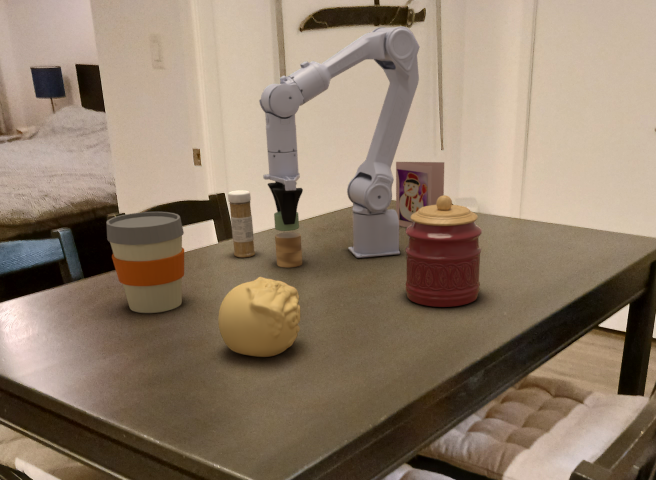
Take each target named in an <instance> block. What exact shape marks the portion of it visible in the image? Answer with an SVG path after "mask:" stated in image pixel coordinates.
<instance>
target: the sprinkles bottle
mask: <svg viewBox="0 0 656 480" xmlns="http://www.w3.org/2000/svg"><path fill="white" fill-rule="evenodd" d="M227 200H228V202H229V209H230V224H231V225H230V226H231V235H232V241H233V242H232V243H233V255H234V256H235V257H236V258H250V257H253V256H255V254H256V251H255V243H254V239H255V237H254V225H253V216H252V208H251V201H252V198H251V192H250V191H249V190H245V189H239V190H238V189H237V190H232V191H229V192H228V193H227Z"/></svg>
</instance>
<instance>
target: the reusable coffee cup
mask: <svg viewBox="0 0 656 480" xmlns="http://www.w3.org/2000/svg"><path fill="white" fill-rule="evenodd" d="M184 234H185V231H184V227H183V223H182V219H181V216H180V215H179V214H178V213H175V212H168V211H143V212H134V213H127V214H126V213H125V214H122V215H118V216H114V217H112V218H109V219H108V220H106V237H107V238H106V239H107V241H108V242H109V243H110V247H111V250H112V254H111V260H112V262H113V266H114V269H115V272H116V275H117V279H118V282H119V283H120V284H122V287H123V291H124V293H125V298H126V300H127V301H126V302H127V303H128V306H129V309H130V310H131V311H132V312H135V313H141V314H156V313H163V312H168V311H171V310H175V309H176V308H178V307H180V306H181V305H182V302H183V288H182V287H183V277H184V276H185V248H184V247H183V235H184Z"/></svg>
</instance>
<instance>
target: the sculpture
mask: <svg viewBox="0 0 656 480" xmlns="http://www.w3.org/2000/svg"><path fill="white" fill-rule="evenodd" d="M299 300H300V296H299V291H298V290H297V288H296V287H295V286H292V285H289V284H288V283H286V282H284V281H281V280H274V279H272V278H266V277H262V276H258V277H257V278H256V279H253V280H251V281H246V282H243V283H240V284H239V285H236V286H234V287H233V288H232V289H230V290H229V291H228V293H226V295H224V298H223V299H222V302H221V303H220V306H219V311H218V321H217V322H218V330H219V334H220V336H221V339H222V340H223V343H224V344H225V345H226V346H227V348H228V349H230V350H231V351H232V352H234V353H237V354H240V355H244V356H249V357H256V358H257V357H258V358H268V357H275V356H278V355H279V354H282V353H283V352H285V351H286V350H287V349H288V348H290V347H292V346H293V344H294V342H295V341H296V339H297V338H298V336H299V335H298V333H299V332H300V330H301V328H300V325H299V323H300V321H301V306H300V305H301V304H299Z"/></svg>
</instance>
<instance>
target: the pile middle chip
mask: <svg viewBox="0 0 656 480" xmlns="http://www.w3.org/2000/svg"><path fill="white" fill-rule="evenodd" d="M274 240H275V242H274V243H275V252H276V251H277V252H281V253H293V252H298V251H300V250H301V249H302V248H303V247H302V235H301V233H299V232H295V231H283V232H278V233H277V234H275V235H274ZM302 250H303V249H302Z"/></svg>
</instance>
